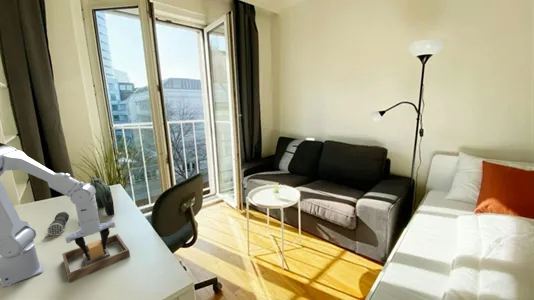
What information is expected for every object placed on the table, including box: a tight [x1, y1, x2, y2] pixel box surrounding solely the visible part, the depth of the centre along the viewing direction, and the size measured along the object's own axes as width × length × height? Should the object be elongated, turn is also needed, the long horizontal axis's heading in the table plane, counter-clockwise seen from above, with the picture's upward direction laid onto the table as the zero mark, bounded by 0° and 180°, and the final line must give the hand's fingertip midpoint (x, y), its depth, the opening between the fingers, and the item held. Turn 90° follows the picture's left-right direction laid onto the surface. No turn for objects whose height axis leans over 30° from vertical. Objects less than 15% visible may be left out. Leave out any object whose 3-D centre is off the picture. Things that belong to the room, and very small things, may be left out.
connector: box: [86, 239, 105, 261], centre depth 90 cm, size 4×4×6 cm
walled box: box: [62, 233, 131, 283], centre depth 91 cm, size 18×16×3 cm
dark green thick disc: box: [90, 174, 115, 217], centre depth 129 cm, size 20×6×20 cm, turn 48°
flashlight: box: [47, 211, 70, 236], centre depth 114 cm, size 15×5×5 cm, turn 30°
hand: (95, 251), depth 90 cm, fingers open, 5 cm apart
